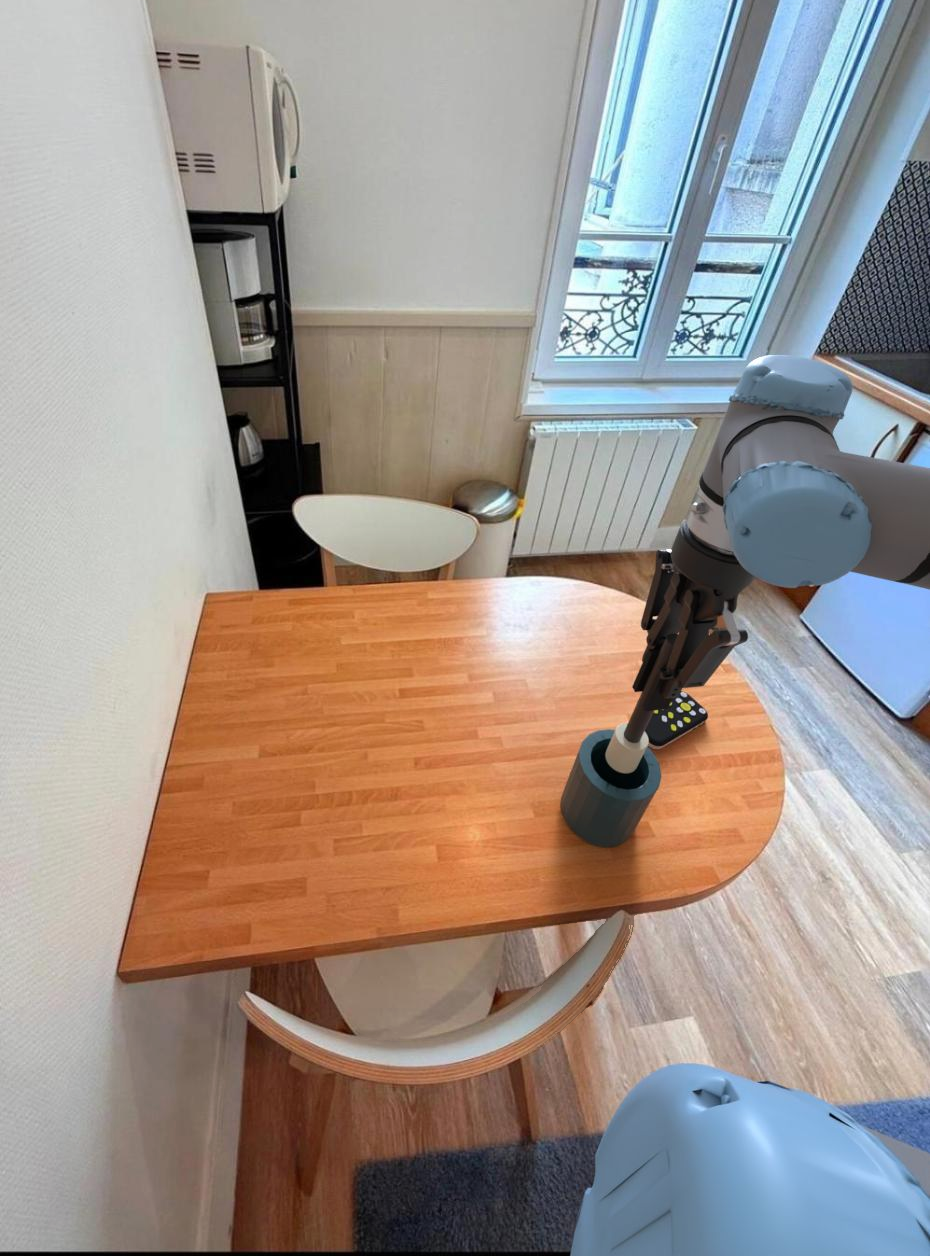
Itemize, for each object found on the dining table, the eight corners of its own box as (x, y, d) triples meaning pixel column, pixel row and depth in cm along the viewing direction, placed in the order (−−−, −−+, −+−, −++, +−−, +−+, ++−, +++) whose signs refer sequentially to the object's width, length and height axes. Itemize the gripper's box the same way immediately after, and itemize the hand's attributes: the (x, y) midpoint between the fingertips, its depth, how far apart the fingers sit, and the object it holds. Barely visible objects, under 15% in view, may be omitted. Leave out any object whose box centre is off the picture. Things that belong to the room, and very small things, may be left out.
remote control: (624, 724, 97) (627, 716, 96) (678, 694, 102) (682, 686, 101) (653, 754, 93) (657, 746, 92) (709, 721, 98) (713, 713, 97)
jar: (647, 843, 82) (675, 795, 75) (575, 852, 81) (597, 805, 73) (616, 774, 90) (639, 725, 82) (550, 782, 88) (567, 732, 81)
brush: (642, 771, 76) (703, 653, 62) (612, 775, 76) (667, 656, 62) (629, 744, 79) (684, 625, 65) (600, 747, 79) (650, 627, 65)
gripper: (649, 489, 60) (593, 651, 75) (733, 591, 49) (648, 759, 63) (719, 486, 61) (650, 646, 76) (818, 585, 50) (714, 752, 64)
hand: (649, 697), depth 70 cm, fingers closed on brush, 2 cm apart
